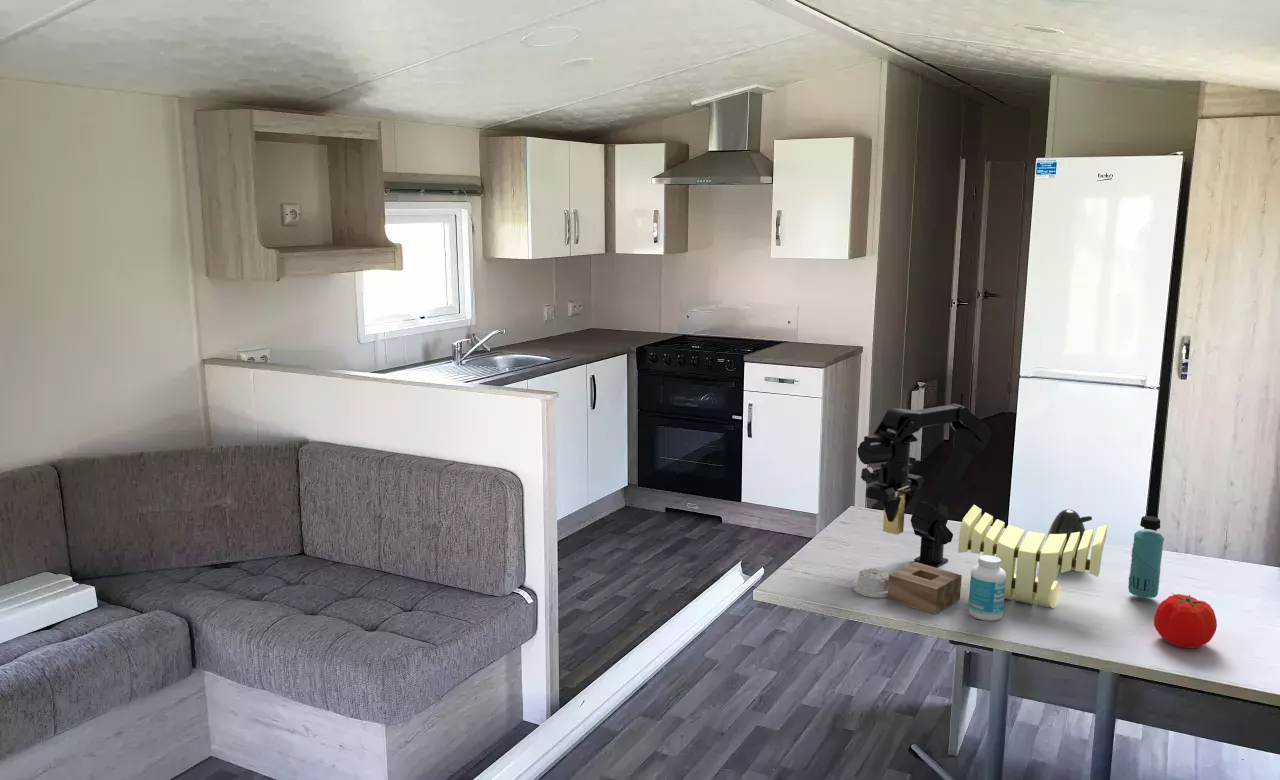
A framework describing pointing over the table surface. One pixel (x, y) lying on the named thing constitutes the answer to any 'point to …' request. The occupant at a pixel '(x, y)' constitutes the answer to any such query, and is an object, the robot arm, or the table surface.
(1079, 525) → the pump dispenser
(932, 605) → the slotted wooden block
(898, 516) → the brushed gold block
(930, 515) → the robot arm
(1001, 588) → the pill bottle
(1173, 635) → the tomato
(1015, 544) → the slatted curved stool
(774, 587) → the table surface
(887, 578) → the mechanical component
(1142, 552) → the beverage bottle
